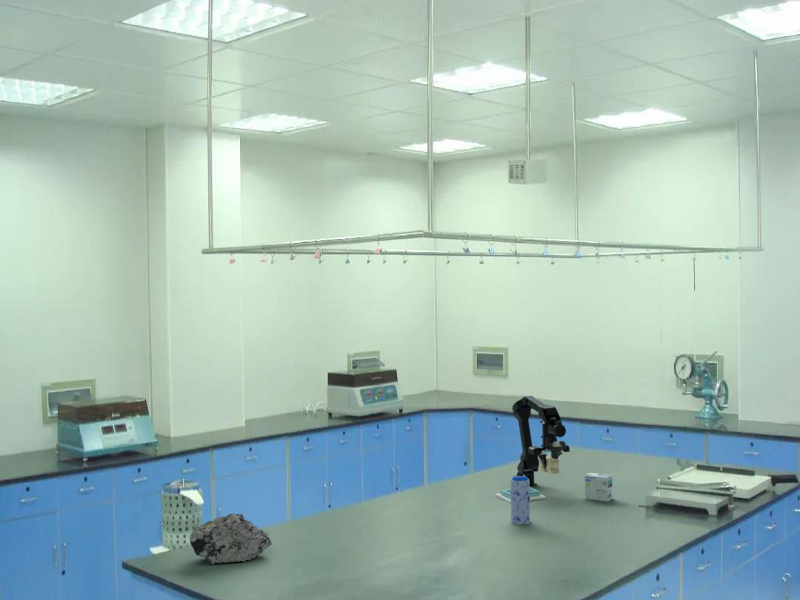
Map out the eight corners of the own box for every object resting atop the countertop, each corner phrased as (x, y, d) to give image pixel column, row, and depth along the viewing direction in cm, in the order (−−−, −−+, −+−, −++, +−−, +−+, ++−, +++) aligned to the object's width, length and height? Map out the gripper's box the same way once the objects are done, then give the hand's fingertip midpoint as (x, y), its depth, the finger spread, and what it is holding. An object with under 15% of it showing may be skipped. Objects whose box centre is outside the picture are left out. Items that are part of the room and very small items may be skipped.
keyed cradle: (495, 495, 377) (494, 489, 377) (529, 492, 383) (529, 485, 383) (509, 502, 364) (509, 495, 364) (545, 498, 370) (545, 491, 370)
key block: (539, 469, 384) (539, 456, 384) (547, 469, 385) (547, 456, 385) (551, 474, 375) (551, 460, 375) (558, 473, 376) (558, 460, 376)
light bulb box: (613, 498, 368) (612, 474, 368) (608, 502, 363) (608, 477, 363) (589, 496, 374) (589, 472, 374) (584, 499, 368) (584, 474, 368)
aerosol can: (530, 524, 328) (529, 474, 328) (510, 524, 330) (509, 473, 329) (531, 519, 336) (530, 470, 336) (511, 518, 337) (510, 469, 337)
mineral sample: (255, 508, 307) (262, 498, 295) (269, 557, 301) (278, 549, 289) (182, 530, 296) (187, 521, 283) (196, 582, 289) (202, 575, 277)
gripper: (539, 438, 369) (540, 473, 369) (576, 435, 376) (576, 469, 376) (527, 434, 380) (527, 468, 380) (562, 431, 386) (563, 465, 386)
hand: (549, 468), depth 380 cm, fingers closed on key block, 4 cm apart
